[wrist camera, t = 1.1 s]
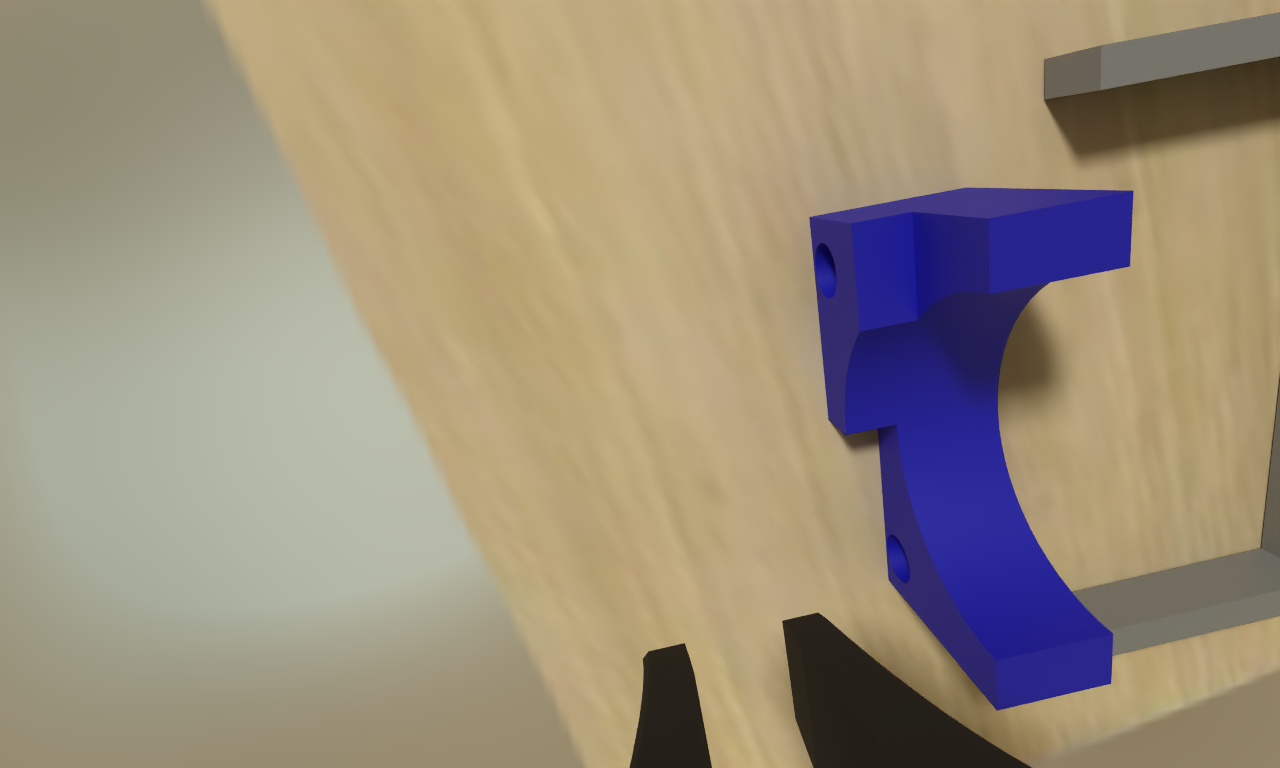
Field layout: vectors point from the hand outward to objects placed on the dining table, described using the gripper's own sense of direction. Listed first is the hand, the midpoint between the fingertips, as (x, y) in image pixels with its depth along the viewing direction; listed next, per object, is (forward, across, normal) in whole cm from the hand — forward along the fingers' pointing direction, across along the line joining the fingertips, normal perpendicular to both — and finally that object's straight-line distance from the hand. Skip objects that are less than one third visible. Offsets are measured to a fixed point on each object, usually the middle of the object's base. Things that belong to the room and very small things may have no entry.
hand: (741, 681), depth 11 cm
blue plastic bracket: (+10, -7, 0) cm, 12 cm away
